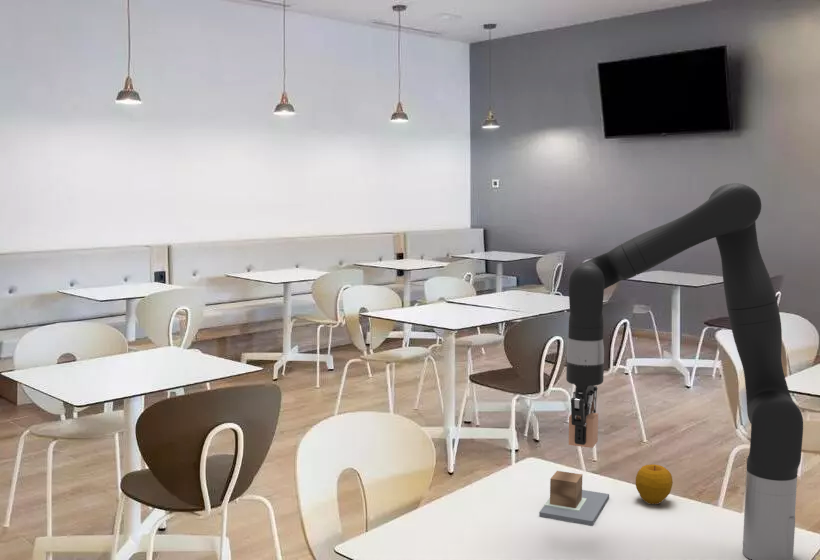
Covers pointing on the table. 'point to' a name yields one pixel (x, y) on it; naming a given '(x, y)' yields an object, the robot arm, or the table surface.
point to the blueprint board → (578, 509)
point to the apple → (653, 483)
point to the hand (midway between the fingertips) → (583, 439)
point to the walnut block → (566, 489)
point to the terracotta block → (590, 431)
